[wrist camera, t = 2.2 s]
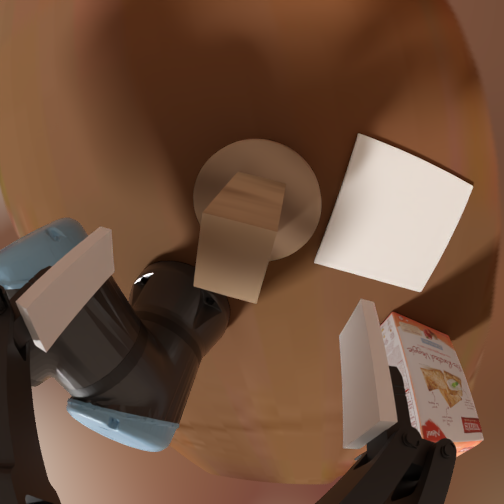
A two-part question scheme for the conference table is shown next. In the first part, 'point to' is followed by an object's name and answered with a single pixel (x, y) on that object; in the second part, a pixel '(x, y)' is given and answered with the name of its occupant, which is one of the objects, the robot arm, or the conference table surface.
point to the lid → (251, 214)
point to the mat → (392, 216)
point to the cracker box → (432, 382)
